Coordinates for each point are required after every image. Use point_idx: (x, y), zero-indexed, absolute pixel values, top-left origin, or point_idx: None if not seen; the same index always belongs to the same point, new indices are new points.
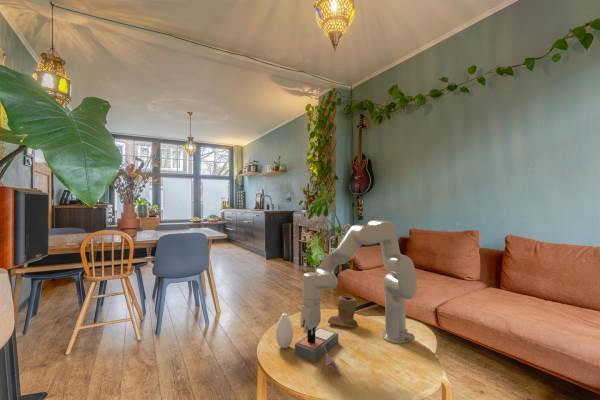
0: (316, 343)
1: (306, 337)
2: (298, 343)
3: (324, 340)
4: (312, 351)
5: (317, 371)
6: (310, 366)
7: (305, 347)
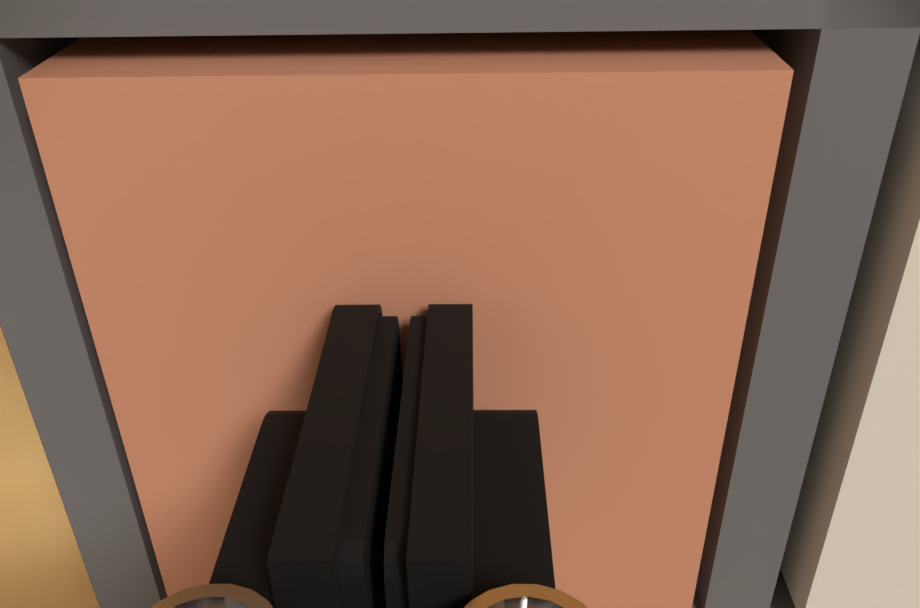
0: None
1: (676, 5)
2: (37, 35)
3: (778, 573)
4: (100, 577)
5: (34, 587)
6: (33, 452)
7: (61, 383)
